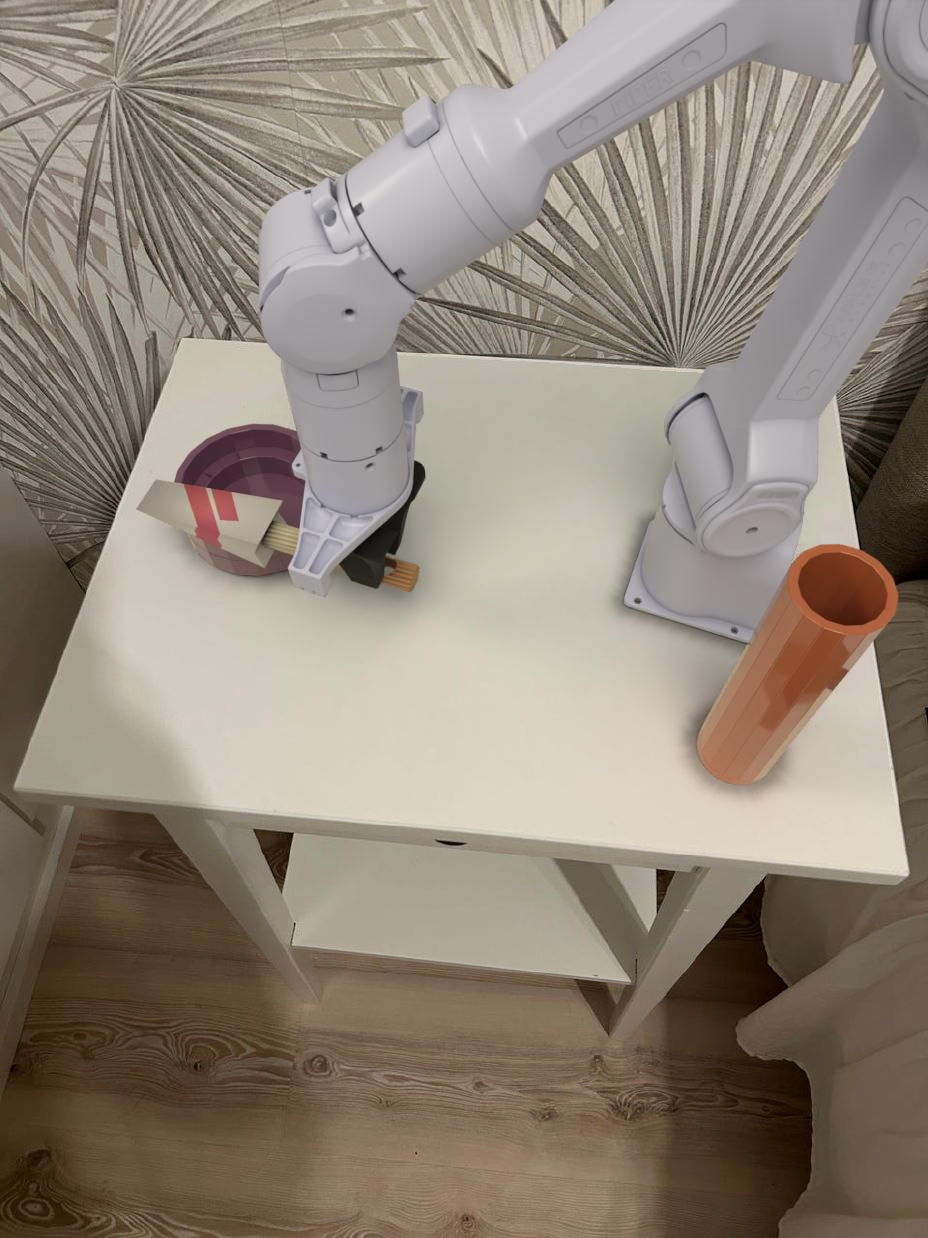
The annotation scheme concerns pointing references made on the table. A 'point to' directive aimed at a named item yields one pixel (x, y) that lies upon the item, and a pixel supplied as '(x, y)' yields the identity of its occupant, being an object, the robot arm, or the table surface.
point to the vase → (796, 658)
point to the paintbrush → (241, 525)
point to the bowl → (247, 482)
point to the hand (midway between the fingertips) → (374, 563)
